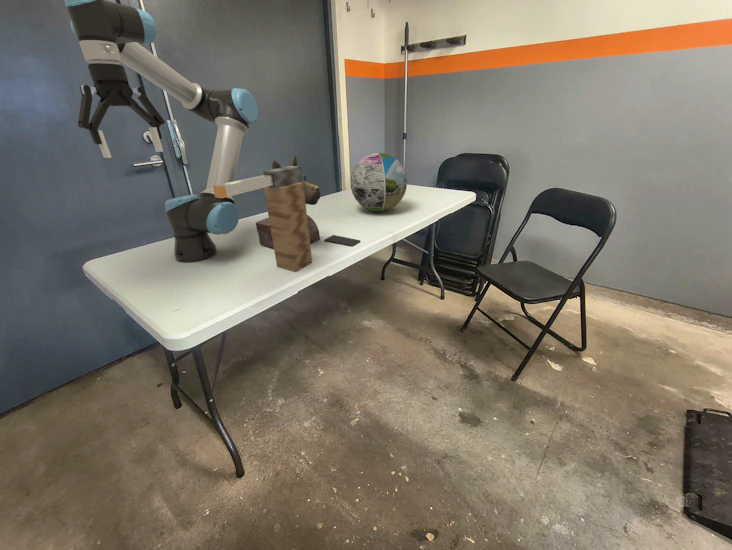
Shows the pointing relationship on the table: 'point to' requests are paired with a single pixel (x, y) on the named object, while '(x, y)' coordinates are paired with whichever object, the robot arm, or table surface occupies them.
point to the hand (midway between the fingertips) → (135, 154)
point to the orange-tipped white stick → (243, 186)
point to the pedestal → (288, 218)
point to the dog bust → (310, 198)
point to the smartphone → (342, 240)
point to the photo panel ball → (378, 182)
